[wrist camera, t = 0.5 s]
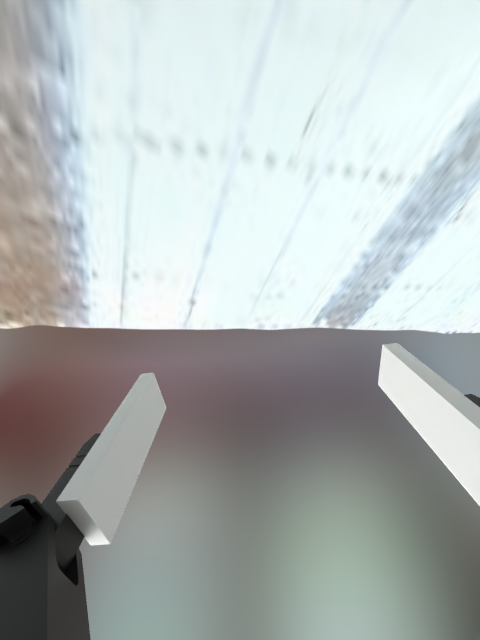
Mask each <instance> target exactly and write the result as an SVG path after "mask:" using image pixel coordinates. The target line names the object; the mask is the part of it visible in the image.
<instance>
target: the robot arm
mask: <svg viewBox="0 0 480 640" xmlns="http://www.w3.org/2000/svg"><path fill="white" fill-rule="evenodd" d="M378 385H379V386H380V387H381V388H382V390H383V391H384V392H385V393H386V395H387V396H388V397H389V398H390V399H391V400H392V402H393V403H394V404H395V405H396V406H397V408H398V409H399V410H400V411H401V412H402V414H403V415H404V416H405V417H406V419H407V420H408V421H409V422H410V423H411V425H412V426H413V427H414V428H415V429H416V431H417V432H418V433H419V434H420V435H421V437H422V438H423V439H424V440H425V441H426V442H427V444H428V445H429V446H430V447H431V448H432V450H433V451H434V452H435V453H436V454H437V456H438V457H439V458H440V459H441V460H442V462H443V463H444V464H445V465H446V466H447V468H448V469H449V470H450V471H451V472H452V473H453V475H454V476H455V477H456V478H457V479H458V481H459V482H460V483H461V484H462V486H463V487H464V488H465V489H466V490H467V492H468V493H469V494H470V495H471V496H472V497H473V499H474V500H475V501H476V502H477V503H478V505H479V506H480V398H478V397H476V396H474V395H472V394H468V395H463V394H462V393H460V392H459V391H458V390H457V389H455V388H454V387H453V386H452V385H450V384H449V383H448V382H446V381H445V380H444V379H443V378H441V377H440V376H439V375H437V374H436V373H435V372H434V371H432V370H431V369H430V368H428V367H427V366H426V365H424V364H423V363H422V362H421V361H419V360H418V359H417V358H416V357H414V356H413V355H412V354H410V353H409V352H408V351H407V350H405V349H404V348H403V347H402V346H400V345H399V344H398V343H392V344H384V345H382V354H381V363H380V372H379V380H378ZM165 410H166V405H165V403H164V400H163V397H162V394H161V392H160V389H159V387H158V384H157V381H156V378H155V376H154V373H147V374H141V375H140V377H139V378H138V379H137V381H136V382H135V384H134V385H133V387H132V388H131V390H130V391H129V393H128V394H127V396H126V397H125V399H124V401H123V402H122V403H121V405H120V407H119V408H118V409H117V411H116V412H115V414H114V415H113V417H112V418H111V420H110V421H109V423H108V424H107V426H106V427H105V429H104V430H103V432H102V433H101V434H95V435H94V436H93V437H92V438H90V440H88V442H86V443H85V444H84V445H83V447H82V448H81V449H80V451H79V452H78V454H77V455H76V458H74V459H73V461H72V462H71V463H70V465H69V468H67V469H66V470H65V472H64V473H63V475H62V476H61V477H60V479H59V480H58V482H57V483H56V484H55V486H54V487H53V489H52V490H51V491H50V493H49V494H48V496H47V497H46V498H45V500H44V501H43V503H42V504H41V503H40V502H39V501H38V500H37V499H36V497H35V496H33V495H30V494H27V495H22V496H20V497H18V498H16V499H14V500H11V501H10V502H9V503H7V504H6V505H5V506H3V507H2V508H0V640H90V633H89V622H88V613H87V604H86V594H85V584H84V574H83V565H82V555H81V552H80V550H79V546H80V544H81V542H82V540H83V538H84V537H85V539H86V540H87V541H88V542H89V544H90V545H103V544H111V541H112V539H113V536H114V534H115V532H116V529H117V527H118V524H119V522H120V519H121V517H122V515H123V512H124V510H125V507H126V505H127V502H128V500H129V498H130V495H131V493H132V490H133V488H134V485H135V483H136V480H137V478H138V476H139V473H140V471H141V468H142V466H143V464H144V461H145V459H146V456H147V454H148V451H149V449H150V447H151V444H152V442H153V439H154V437H155V434H156V432H157V430H158V427H159V424H160V422H161V420H162V417H163V415H164V413H165Z"/></svg>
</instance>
